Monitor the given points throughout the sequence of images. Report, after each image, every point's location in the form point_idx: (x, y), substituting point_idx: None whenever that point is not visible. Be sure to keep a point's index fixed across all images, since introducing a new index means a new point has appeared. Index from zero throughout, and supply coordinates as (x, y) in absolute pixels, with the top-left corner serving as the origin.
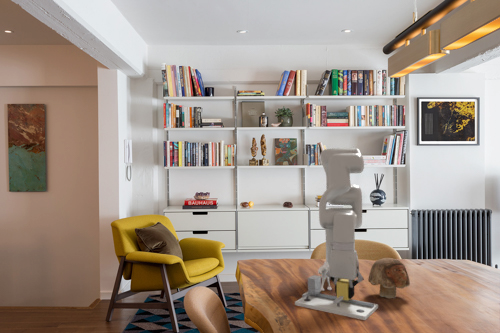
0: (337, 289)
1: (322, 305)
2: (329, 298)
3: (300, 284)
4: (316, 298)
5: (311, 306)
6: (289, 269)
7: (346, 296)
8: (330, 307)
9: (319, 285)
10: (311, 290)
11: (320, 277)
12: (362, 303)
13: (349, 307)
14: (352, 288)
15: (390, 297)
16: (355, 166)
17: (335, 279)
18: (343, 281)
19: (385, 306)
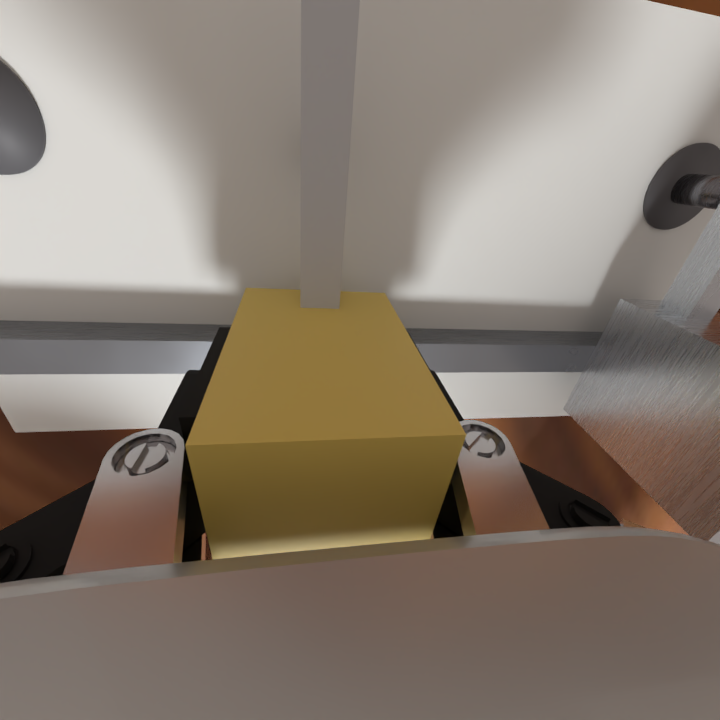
0: (403, 347)
1: (512, 82)
2: (466, 333)
3: (655, 504)
4: (582, 292)
5: (641, 9)
6: None
7: (251, 306)
8: (400, 47)
9: (626, 434)
10: (700, 312)
11: (688, 527)
12: (87, 333)
13: (187, 189)
14: (156, 438)
15: None
16: None
17: (512, 506)
18: (338, 520)
19: (17, 462)
